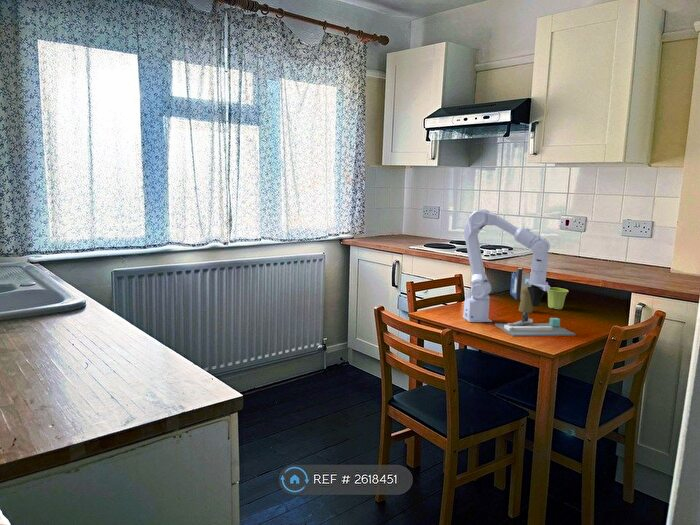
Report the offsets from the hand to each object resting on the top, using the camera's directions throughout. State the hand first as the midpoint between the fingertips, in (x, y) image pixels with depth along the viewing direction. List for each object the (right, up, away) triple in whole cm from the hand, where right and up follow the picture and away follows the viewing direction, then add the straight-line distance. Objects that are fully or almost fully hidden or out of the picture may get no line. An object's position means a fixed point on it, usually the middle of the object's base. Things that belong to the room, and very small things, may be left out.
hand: (535, 305), depth 201 cm
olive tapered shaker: (+6, -5, +29) cm, 30 cm away
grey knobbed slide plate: (-1, -9, -2) cm, 9 cm away
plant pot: (+23, -4, +39) cm, 45 cm away
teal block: (+9, -9, +3) cm, 13 cm away
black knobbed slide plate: (-4, -7, +3) cm, 9 cm away
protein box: (+15, -1, +59) cm, 61 cm away
